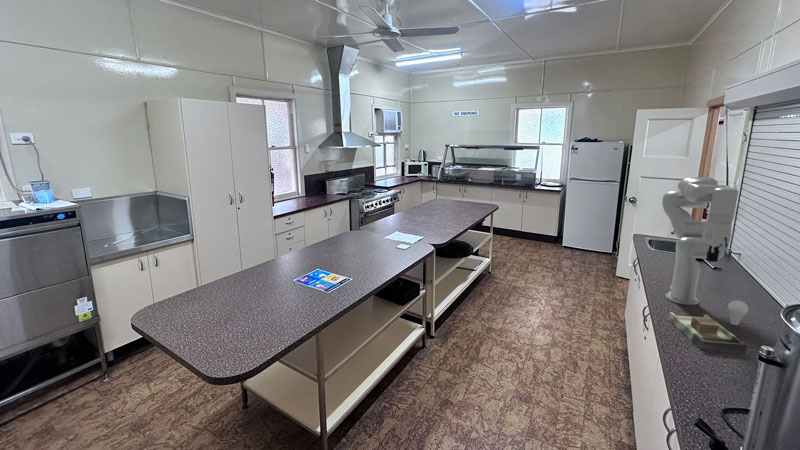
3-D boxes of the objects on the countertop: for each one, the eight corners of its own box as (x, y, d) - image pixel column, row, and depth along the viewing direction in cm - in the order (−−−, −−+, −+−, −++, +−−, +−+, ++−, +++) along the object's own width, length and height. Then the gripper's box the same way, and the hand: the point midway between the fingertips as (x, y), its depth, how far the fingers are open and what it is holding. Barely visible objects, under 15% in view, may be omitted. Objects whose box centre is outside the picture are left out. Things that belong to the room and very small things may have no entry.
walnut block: (690, 325, 144) (692, 316, 143) (707, 326, 143) (709, 317, 142) (699, 333, 138) (701, 324, 137) (716, 334, 137) (718, 325, 136)
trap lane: (668, 319, 153) (669, 312, 152) (705, 321, 150) (706, 314, 149) (701, 349, 131) (702, 341, 130) (745, 353, 128) (747, 345, 127)
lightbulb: (725, 325, 146) (730, 302, 144) (723, 319, 151) (728, 296, 148) (745, 330, 143) (750, 306, 140) (743, 324, 147) (748, 300, 145)
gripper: (698, 214, 149) (690, 254, 153) (721, 222, 135) (712, 266, 139) (718, 214, 147) (710, 255, 152) (744, 222, 133) (734, 267, 138)
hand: (711, 260), depth 145 cm, fingers closed
